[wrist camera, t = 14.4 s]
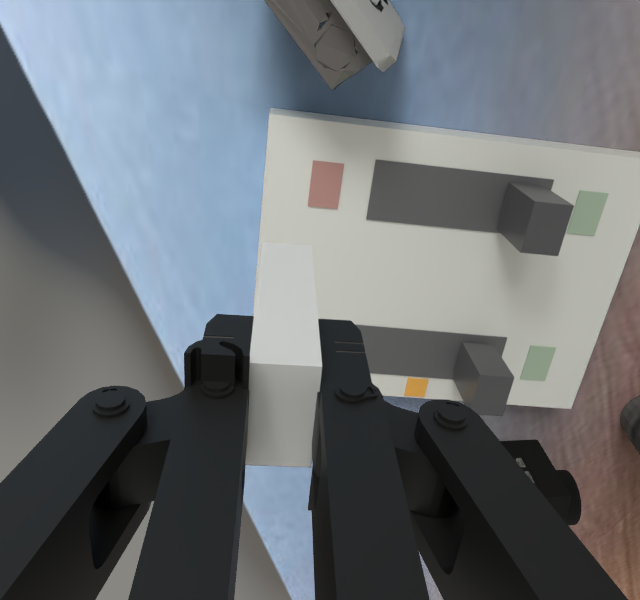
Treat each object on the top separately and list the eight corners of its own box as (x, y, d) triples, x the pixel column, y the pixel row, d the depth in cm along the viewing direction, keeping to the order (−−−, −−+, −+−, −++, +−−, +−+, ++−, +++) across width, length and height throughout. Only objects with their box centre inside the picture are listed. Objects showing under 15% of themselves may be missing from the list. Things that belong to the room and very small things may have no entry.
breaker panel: (270, 107, 38) (269, 114, 36) (638, 151, 41) (664, 161, 38) (249, 364, 47) (247, 386, 44) (555, 387, 49) (571, 409, 47)
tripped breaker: (462, 342, 43) (480, 374, 39) (493, 344, 43) (514, 377, 39) (452, 378, 44) (469, 413, 40) (483, 380, 44) (502, 415, 40)
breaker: (508, 182, 38) (535, 201, 34) (544, 186, 38) (574, 205, 34) (496, 229, 39) (520, 252, 35) (530, 232, 39) (558, 256, 35)
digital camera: (533, 523, 56) (564, 586, 50) (478, 526, 56) (502, 589, 50) (550, 438, 52) (587, 495, 46) (490, 440, 52) (519, 498, 45)
